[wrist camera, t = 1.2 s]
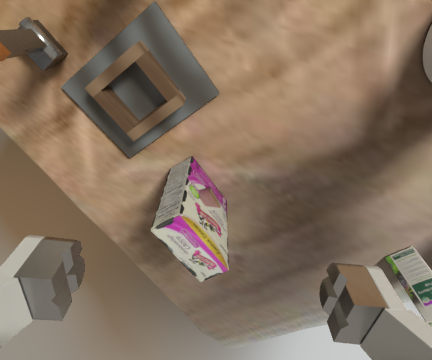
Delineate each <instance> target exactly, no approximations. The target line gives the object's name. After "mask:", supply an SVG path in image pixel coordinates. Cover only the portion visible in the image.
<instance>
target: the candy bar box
mask: <svg viewBox="0 0 432 360" xmlns="http://www.w3.org/2000/svg"><path fill="white" fill-rule="evenodd" d="M151 232H152V233H153V234H154V235H155V236H156V237H157V238H158V239H159V240H160V241H161V242H162V243H163V244H164V245H165V246H166V247H167V248H168V249H169V250H170V251H171V252H172V253H173V254H174V255H175V257H176V258H177V259H178V260H179V261H180V262H181V263H182V264H183V265H184V266H185V267H186V268H187V269H188V270H189V271H190V272H191V273H192V274H193V275H194V276H195V277H196V278H197V279H198V281H199V282H202V281H205V280H207V279H209V278H211V277H214V276H216V275H217V274H222V273H224V272H226V271H227V270H229V267H228V266H229V265H228V233H227V201H226V199H225V198H224V197H223V196H222V194H221V193H220V192H219V190H218V189H217V188H216V186H215V185H214V184H213V183H212V181H211V180H210V179H209V177H208V176H207V175H206V173H205V172H204V171H203V169H202V168H201V167H200V165H199V164H198V163H197V161H196V160H195V159H194V157H193V156H191V157H189V158H187V159H186V160H185V161H183V162H181V163H179V164H177V165H176V166H174V167H172V168H170V171H169V174H168V178H167V181H166V184H165V187H164V190H163V193H162V196H161V200H160V203H159V206H158V209H157V212H156V215H155V218H154V221H153V224H152V227H151Z"/></svg>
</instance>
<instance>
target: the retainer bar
mask: <svg viewBox="0 0 432 360" xmlns="http://www.w3.org/2000/svg"><path fill="white" fill-rule="evenodd" d="M46 47H47V45H46V44H45V43H44V42H43V41H42V40H41V39H40V38H39V37H38V36H37V34H36V33H35V32H34V31H33V30H32V29H15V30H0V61H4V60H5V59H7V58H12V57H17V56H22V55H27V54H32V53H37V52H42V51H43V50H44V49H45V48H46Z"/></svg>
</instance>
